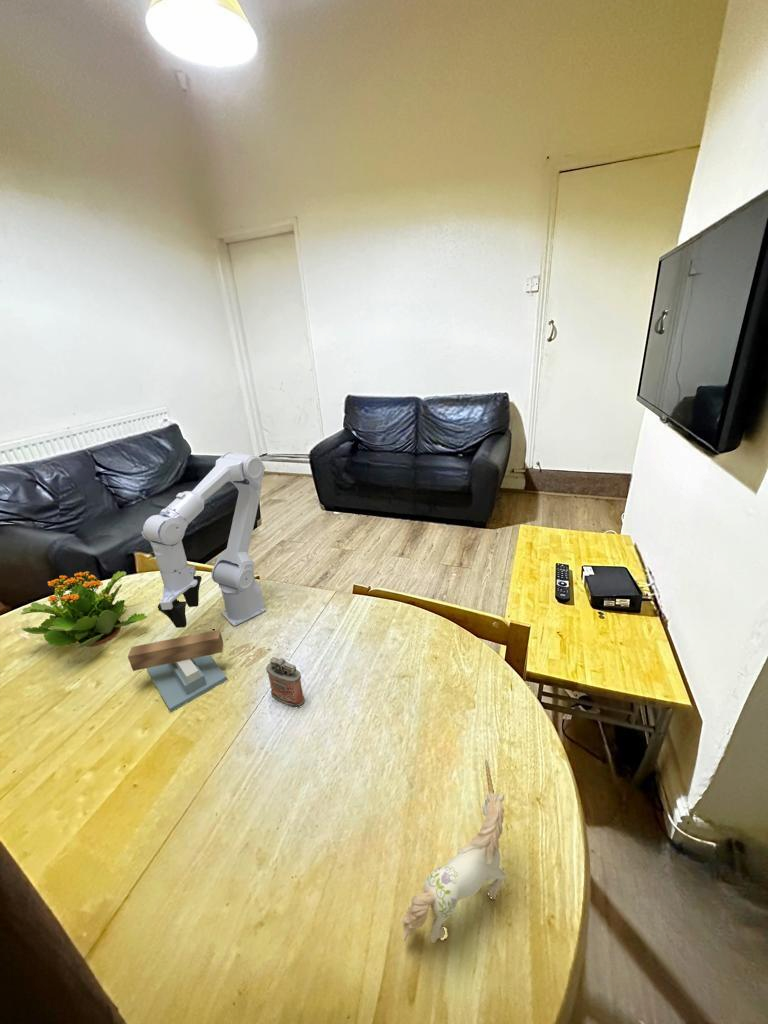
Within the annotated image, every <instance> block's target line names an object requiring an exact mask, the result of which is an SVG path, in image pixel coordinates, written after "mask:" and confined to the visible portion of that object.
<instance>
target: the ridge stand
mask: <svg viewBox="0 0 768 1024" xmlns="http://www.w3.org/2000/svg"><path fill="white" fill-rule="evenodd" d="M146 671H147V673H148V674H149V676H150V678H151V680H152V681H153V684H154V685H155V687H156V688H157V689H156V690H158V693H159V694H160V696H161V698H162V700H163V701H164V703H165V705H166V706H167V709H168V710H169V712H170V713H172V712H174V711H176V710H178V709H179V708H181V707H183V706H185V705H187V704H188V703H189V702H192V701H193V700H195V699H197V698H198V697H200V696H202V695H203V694H205V693H207V692H209V691H210V690H212V689H214V688H216V687H217V686H219V685H221V684H223V683H224V682H226V681H228V678H227V675H226V674H225V673H224V671H223V670H222V669H221V668H220V667H219V665H218V664H217V663H216V661H215V660H214V659H213V658H212V657H211V655H207V656H202V657H198V658H193V659H188V660H183V661H179V662H174V663H169V664H164V665H160V666H155V667H150V668H146Z"/></svg>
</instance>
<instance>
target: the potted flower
mask: <svg viewBox="0 0 768 1024" xmlns="http://www.w3.org/2000/svg"><path fill="white" fill-rule="evenodd" d="M73 575H74V577H70V578H68V576H67V575H59V578H55V579H53V580H51V581H47V585H48V587H49V588H51V590H52V592H54V593H53V595H49V597H48V598H47V602H49V605H48V604H45V603H42V604H41V603H39V602H36V601H35V602H34V601H33V602H31V603H30V606H28V607H24V608H22V611H21V613H20V615H21V616H22V615H26V614H31V613H32V614H33V613H44V614H45V613H46V614H50V615H49V618H46V619H45V620H44V621H43V622H41V623H40V626H38V627H36V626H33V627H24V628H22V629H21V630H22V631H23V632H27V633H29V634H33V635H34V634H35V635H43V637H44V640H45V642H47V644H48V645H51V646H53V647H65V646H69V645H75V644H77V643H78V645H77V646H74V648H75V649H83V648H85V647H86V648H90V647H91V648H92V647H97V646H100V645H102V644H106V643H107V642H109V641H111V640H112V639H113V638H115V637H117V635H118V634H119V633H120V631H121V629H122V628H123V627H124V626H128V625H131V624H134V623H137V622H140V621H143V620H145V619H146V618H148V615H145V614H146V613H142V612H141V613H137V612H135V613H133V614H131V615H130V616H128V618H127V619H126V620H125V621H124V620H122V621H121V620H120V618H121V617H122V616H123V615H124V614H125V613H126V612H127V608H125V606H126V605H125V603H126V601H125V600H124V599H120V600H118V599H117V601H115V599H116V596H117V595H118V593H119V591H120V589H121V588H122V587H123V584H122V583H120V584H119V586H118V587H117V588H115V590H114V591H113V592H111V590H112V588H113V587H114V585H116V583H117V582H118V581H120V579H122V578H123V577H125V576H126V575H127V572H126V571H120V570H119V571H117V572H115V573H114V574H113V575H112V577H111V579H110V581H108V583H107V584H106V585H107V586H106V587H105V588H102V589H101V592H100V593H99V594H98V593H97V590H98V589H99V587H101V586H103V585H104V582H103V581H102V582H101V580H99V579H98V578H97V577H96V576H95V575H94V574H90V571H88V570H87V571H86V570H85V571H84V572H82V571H79V572H76V573H74V574H73ZM53 588H54V590H53ZM67 591H69V593H66V592H67ZM110 592H111V593H110ZM114 601H115V603H114ZM58 602H60V604H58Z"/></svg>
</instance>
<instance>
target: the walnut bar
mask: <svg viewBox="0 0 768 1024" xmlns="http://www.w3.org/2000/svg"><path fill="white" fill-rule="evenodd" d="M223 648H224V640H223V637H222V633H221V629H216V630H210V631H205V632H199V633H195V634H190V635H186V636H180V637H176V638H170V639H166V640H160V641H154V642H150V643H145V644H140V645H134V646H131V647H130V650H129V652H128V656H127V659H128V661H129V664H130V667H131V669H132V672H136V671H140V670H145V669H147V668H150V667H155V666H160V665H164V664H169V663H174V662H179V661H183V660H188V659H193V658H198V657H202V656H207V655H210V656H211V655H217V654H221V653H223V650H224V649H223Z"/></svg>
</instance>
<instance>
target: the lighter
mask: <svg viewBox="0 0 768 1024" xmlns="http://www.w3.org/2000/svg"><path fill="white" fill-rule="evenodd" d="M265 671H266V674H267V675H268V679H269V683H270V684H269V686H270V690H271V691H270V695H271V697H272V698H273V699H274V700H275V701H277V703H278V702H279V703H280V704H282V705H284V704H285V705H284V706H287V705H288V706H287V707H289V706H291V707H290V708H293V707H300V706H302V705H303V704H304V705H305V703H304V702H306V699H305V696H304V694H303V687H302V682H301V680H302V674H301V672H300V671H299V670H298V669H297V666H296V665H295V664H292V663H290V662H288V661H286V660H285V658H283V657H280V658H277V657H275V656H272V657H271V658H269V663H268V664H267V665H266V667H265ZM304 705H303V706H304ZM303 706H302V707H303ZM300 708H301V707H300Z"/></svg>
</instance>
